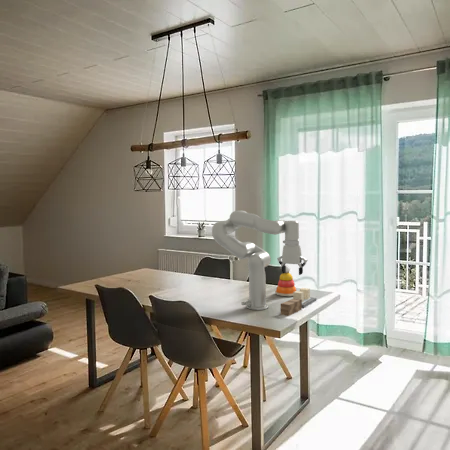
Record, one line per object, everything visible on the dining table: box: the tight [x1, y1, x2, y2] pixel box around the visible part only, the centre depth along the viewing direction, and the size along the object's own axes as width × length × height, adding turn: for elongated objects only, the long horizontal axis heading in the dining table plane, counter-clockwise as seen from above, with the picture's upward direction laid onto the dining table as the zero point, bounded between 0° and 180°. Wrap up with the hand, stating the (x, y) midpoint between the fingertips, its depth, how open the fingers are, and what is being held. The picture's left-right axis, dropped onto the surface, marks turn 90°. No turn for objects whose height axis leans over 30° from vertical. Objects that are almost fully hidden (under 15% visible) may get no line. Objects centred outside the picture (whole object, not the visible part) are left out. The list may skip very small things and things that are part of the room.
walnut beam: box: [280, 298, 303, 317], centre depth 239 cm, size 15×5×6 cm, turn 143°
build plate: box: [292, 287, 317, 309], centre depth 259 cm, size 20×11×8 cm, turn 148°
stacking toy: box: [274, 264, 297, 297], centre depth 279 cm, size 14×14×20 cm
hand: (292, 273), depth 239 cm, fingers open, 9 cm apart
